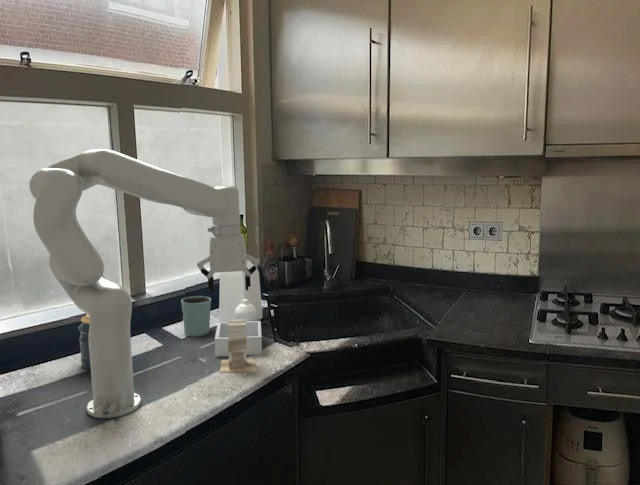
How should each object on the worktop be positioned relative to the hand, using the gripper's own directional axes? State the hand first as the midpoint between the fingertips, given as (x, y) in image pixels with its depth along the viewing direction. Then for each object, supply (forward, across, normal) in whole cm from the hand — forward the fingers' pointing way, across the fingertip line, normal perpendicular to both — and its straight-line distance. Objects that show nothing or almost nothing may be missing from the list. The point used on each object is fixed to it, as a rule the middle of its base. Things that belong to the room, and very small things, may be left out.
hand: (229, 290), depth 152 cm
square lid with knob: (+24, +1, -1) cm, 24 cm away
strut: (+22, +1, -1) cm, 22 cm away
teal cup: (+24, -13, +35) cm, 45 cm away
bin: (+24, +2, +15) cm, 28 cm away
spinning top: (+24, +4, +32) cm, 40 cm away
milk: (+25, +2, +47) cm, 53 cm away
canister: (+23, -38, +11) cm, 46 cm away
